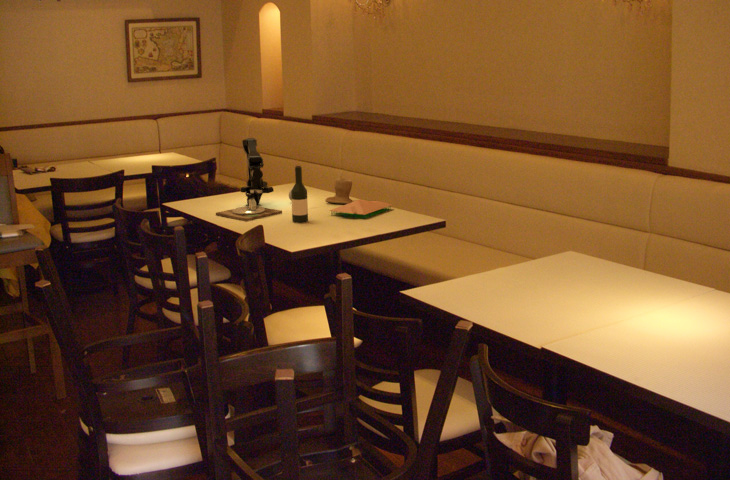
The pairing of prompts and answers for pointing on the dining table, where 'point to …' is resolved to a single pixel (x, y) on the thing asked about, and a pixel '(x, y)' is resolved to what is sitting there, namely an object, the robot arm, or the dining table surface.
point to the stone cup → (341, 192)
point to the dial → (249, 209)
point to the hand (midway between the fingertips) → (258, 204)
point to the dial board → (248, 217)
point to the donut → (290, 194)
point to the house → (361, 208)
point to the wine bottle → (299, 199)
